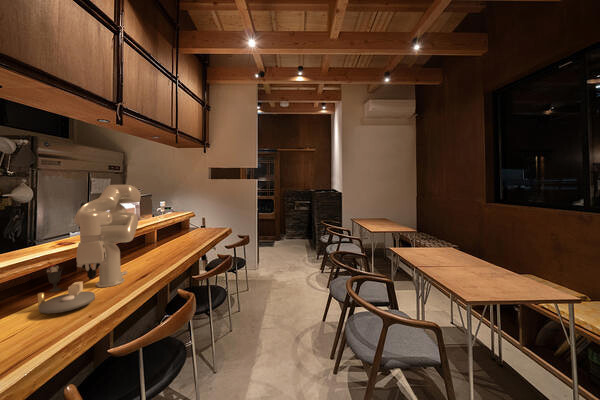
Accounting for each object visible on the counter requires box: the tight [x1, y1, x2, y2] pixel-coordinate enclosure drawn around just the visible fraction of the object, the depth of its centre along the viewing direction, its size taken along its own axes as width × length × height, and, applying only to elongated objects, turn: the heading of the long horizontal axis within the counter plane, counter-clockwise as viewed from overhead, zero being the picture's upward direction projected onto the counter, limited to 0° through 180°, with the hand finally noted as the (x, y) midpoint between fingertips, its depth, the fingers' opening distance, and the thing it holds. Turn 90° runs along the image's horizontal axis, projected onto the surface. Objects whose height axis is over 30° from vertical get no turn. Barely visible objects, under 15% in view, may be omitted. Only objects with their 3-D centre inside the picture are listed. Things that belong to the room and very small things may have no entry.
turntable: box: [38, 281, 96, 314], centre depth 112 cm, size 20×18×6 cm
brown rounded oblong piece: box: [37, 292, 75, 313], centre depth 112 cm, size 8×15×7 cm, turn 83°
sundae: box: [44, 261, 64, 293], centre depth 130 cm, size 7×7×15 cm
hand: (92, 278), depth 119 cm, fingers closed
